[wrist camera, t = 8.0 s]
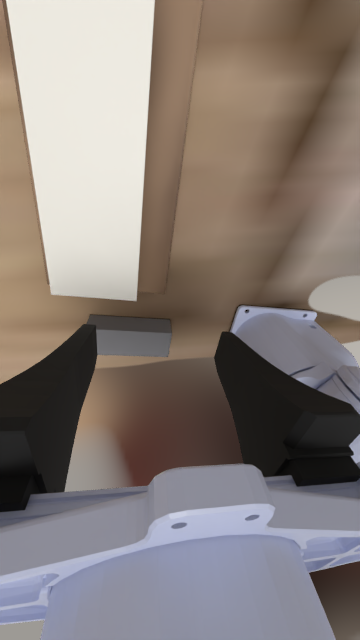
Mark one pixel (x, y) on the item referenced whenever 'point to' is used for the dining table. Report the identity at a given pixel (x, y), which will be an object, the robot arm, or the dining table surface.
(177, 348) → the dining table surface
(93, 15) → the shelf board
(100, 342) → the block
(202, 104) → the dining table surface
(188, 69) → the peg stand
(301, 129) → the dining table surface
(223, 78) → the dining table surface
